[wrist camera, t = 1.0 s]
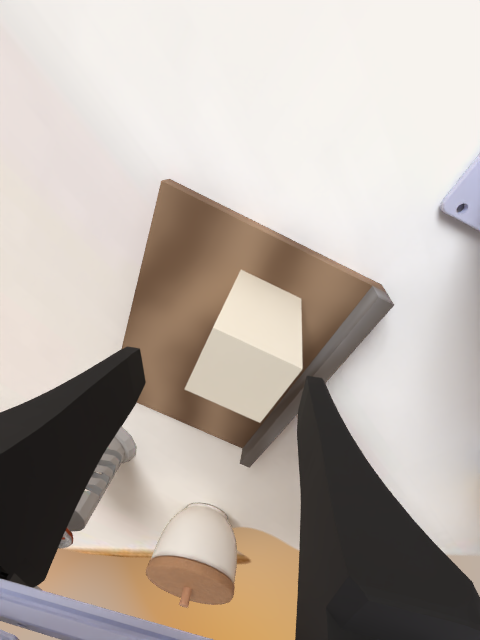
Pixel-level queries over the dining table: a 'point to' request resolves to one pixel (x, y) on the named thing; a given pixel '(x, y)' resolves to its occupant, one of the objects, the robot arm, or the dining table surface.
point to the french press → (99, 483)
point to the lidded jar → (196, 556)
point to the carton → (251, 349)
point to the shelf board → (210, 296)
